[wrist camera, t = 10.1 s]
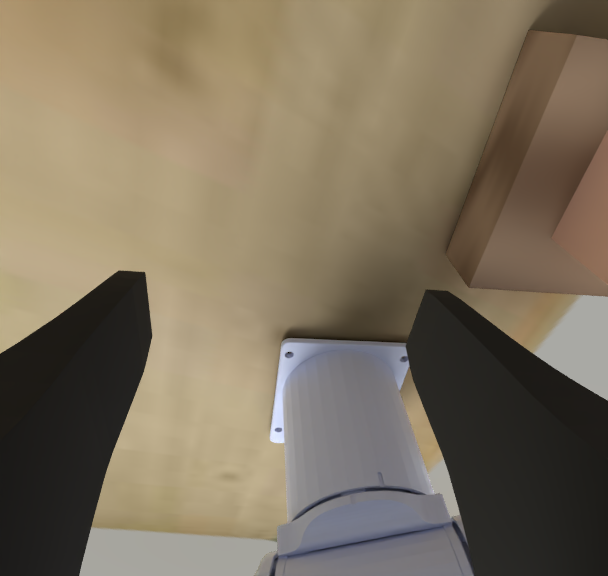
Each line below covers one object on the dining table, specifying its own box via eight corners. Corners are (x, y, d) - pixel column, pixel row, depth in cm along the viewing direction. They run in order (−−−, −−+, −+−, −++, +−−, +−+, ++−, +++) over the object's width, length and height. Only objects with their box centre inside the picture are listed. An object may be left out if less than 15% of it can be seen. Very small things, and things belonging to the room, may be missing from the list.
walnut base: (615, 267, 23) (657, 299, 20) (445, 254, 21) (468, 287, 19) (748, 64, 17) (829, 74, 15) (528, 30, 16) (577, 34, 13)
